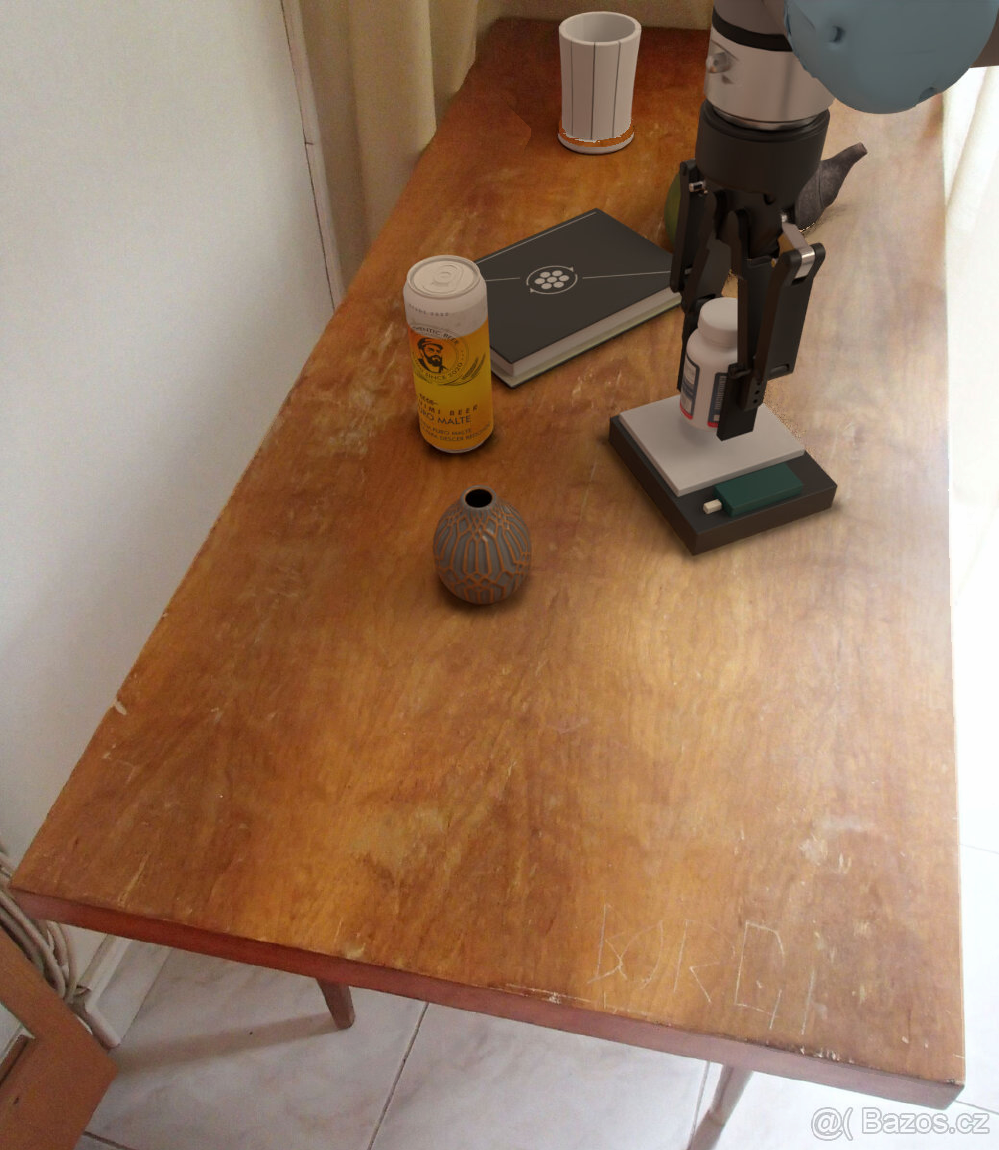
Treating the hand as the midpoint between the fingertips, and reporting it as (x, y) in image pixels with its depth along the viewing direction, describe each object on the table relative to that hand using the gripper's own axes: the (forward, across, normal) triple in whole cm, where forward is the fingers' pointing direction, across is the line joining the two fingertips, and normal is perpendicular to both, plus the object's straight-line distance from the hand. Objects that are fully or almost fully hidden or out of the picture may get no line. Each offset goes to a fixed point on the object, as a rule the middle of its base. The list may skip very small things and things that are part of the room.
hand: (713, 408), depth 75 cm
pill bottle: (0, 0, 0) cm, 0 cm away
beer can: (+5, -11, -17) cm, 21 cm away
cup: (+6, -53, +16) cm, 56 cm away
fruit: (+5, -25, +16) cm, 30 cm away
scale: (+5, +2, 0) cm, 6 cm away
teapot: (+6, -32, +27) cm, 42 cm away
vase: (+5, +5, -21) cm, 22 cm away
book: (+5, -24, -2) cm, 25 cm away
